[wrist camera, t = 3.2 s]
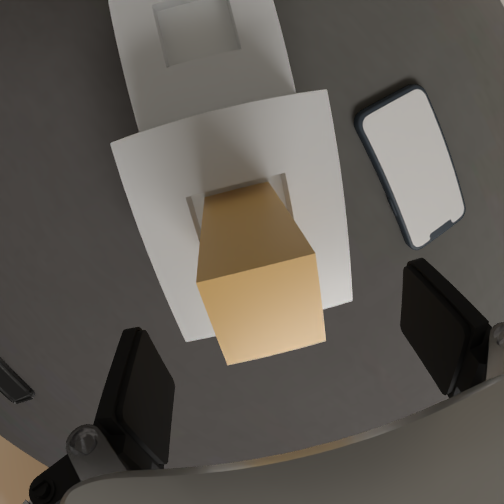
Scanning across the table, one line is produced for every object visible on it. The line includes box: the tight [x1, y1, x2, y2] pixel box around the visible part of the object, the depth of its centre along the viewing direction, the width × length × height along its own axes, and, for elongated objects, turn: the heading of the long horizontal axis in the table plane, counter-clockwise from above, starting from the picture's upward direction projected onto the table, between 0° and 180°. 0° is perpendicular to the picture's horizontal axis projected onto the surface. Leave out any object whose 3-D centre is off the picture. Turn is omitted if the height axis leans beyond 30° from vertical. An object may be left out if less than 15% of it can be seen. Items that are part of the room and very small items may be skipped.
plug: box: [196, 182, 326, 365], centre depth 16 cm, size 4×4×10 cm
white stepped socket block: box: [108, 0, 353, 342], centre depth 20 cm, size 28×12×10 cm, turn 13°
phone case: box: [354, 84, 466, 250], centre depth 28 cm, size 9×2×16 cm
